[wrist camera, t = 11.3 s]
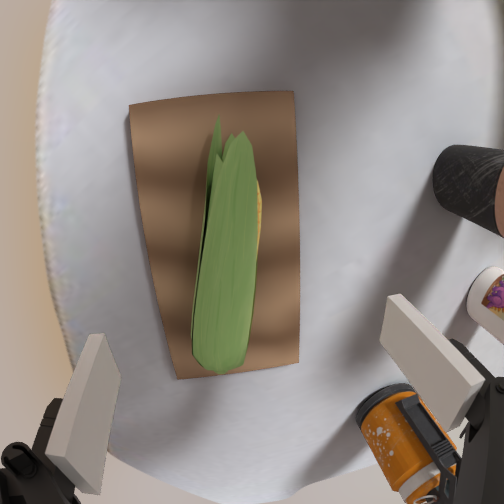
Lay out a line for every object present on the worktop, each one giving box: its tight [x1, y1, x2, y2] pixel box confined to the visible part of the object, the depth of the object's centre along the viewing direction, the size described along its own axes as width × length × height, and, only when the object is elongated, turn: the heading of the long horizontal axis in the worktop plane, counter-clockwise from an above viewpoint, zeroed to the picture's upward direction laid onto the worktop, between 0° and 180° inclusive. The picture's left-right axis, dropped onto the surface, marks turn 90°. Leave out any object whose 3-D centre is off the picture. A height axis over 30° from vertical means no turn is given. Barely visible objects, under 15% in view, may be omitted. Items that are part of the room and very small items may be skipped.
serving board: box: [129, 91, 300, 379], centre depth 25 cm, size 24×12×1 cm, turn 4°
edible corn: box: [191, 115, 262, 374], centre depth 23 cm, size 5×20×5 cm
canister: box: [356, 383, 462, 504], centre depth 28 cm, size 9×11×20 cm
